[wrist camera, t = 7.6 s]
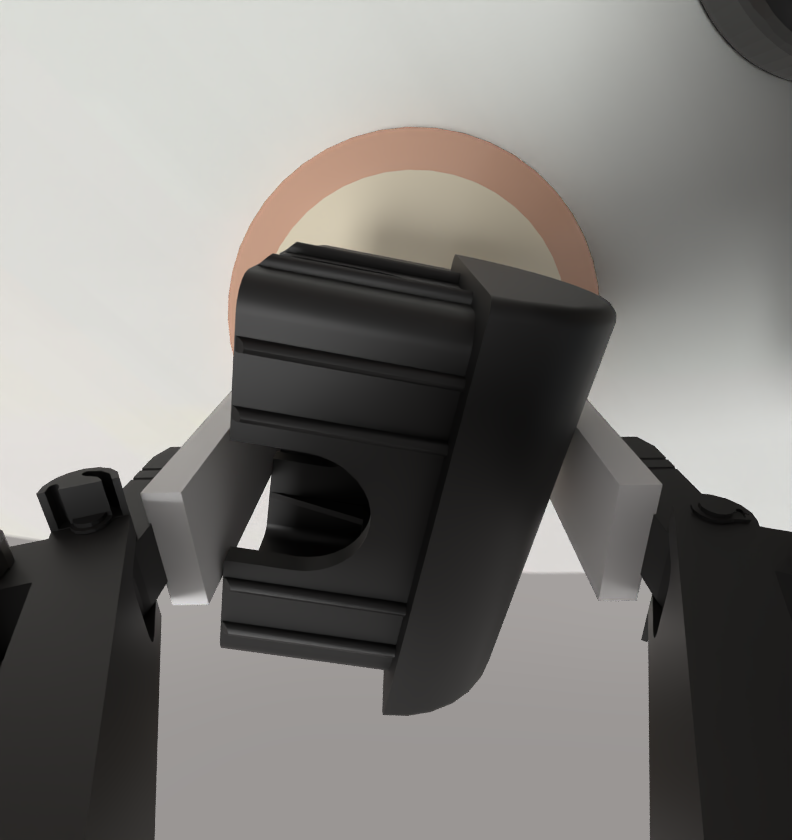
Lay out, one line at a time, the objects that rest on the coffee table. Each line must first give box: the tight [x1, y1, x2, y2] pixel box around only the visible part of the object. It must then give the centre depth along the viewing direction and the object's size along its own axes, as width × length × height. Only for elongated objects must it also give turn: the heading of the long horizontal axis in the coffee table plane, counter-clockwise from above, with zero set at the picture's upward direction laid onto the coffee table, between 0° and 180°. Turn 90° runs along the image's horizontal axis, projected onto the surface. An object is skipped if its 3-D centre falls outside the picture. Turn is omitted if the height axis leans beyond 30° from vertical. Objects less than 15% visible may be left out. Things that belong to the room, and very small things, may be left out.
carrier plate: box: [228, 127, 599, 355], centre depth 23 cm, size 17×17×2 cm
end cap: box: [220, 242, 616, 716], centre depth 13 cm, size 10×7×7 cm
